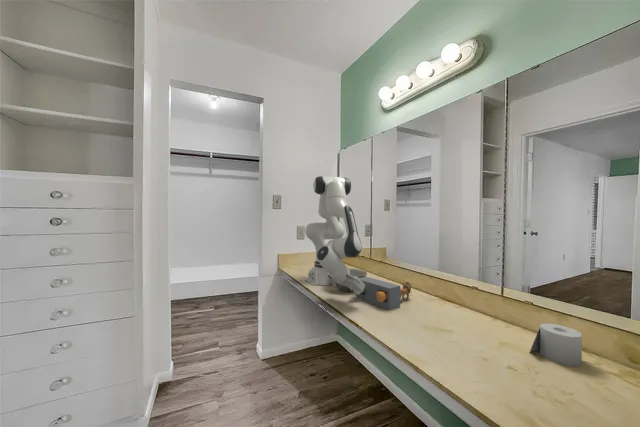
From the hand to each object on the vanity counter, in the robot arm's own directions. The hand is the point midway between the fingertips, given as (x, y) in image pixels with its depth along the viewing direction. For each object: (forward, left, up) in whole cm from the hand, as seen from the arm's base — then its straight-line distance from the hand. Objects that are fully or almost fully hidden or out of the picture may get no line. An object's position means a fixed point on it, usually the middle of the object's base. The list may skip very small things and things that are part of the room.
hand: (354, 290), depth 127 cm
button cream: (0, +3, -2) cm, 4 cm away
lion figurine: (+13, +21, -6) cm, 25 cm away
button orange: (+14, +5, -2) cm, 15 cm away
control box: (+7, +9, -6) cm, 12 cm away
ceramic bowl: (-18, +12, -6) cm, 22 cm away
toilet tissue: (+72, +15, -6) cm, 74 cm away
